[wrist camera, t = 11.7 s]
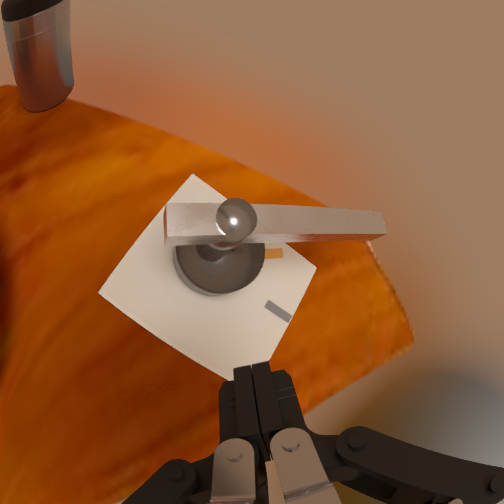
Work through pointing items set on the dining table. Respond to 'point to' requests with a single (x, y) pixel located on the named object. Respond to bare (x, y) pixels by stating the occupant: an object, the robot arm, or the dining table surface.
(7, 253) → the dining table surface
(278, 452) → the robot arm
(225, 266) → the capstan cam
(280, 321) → the board
